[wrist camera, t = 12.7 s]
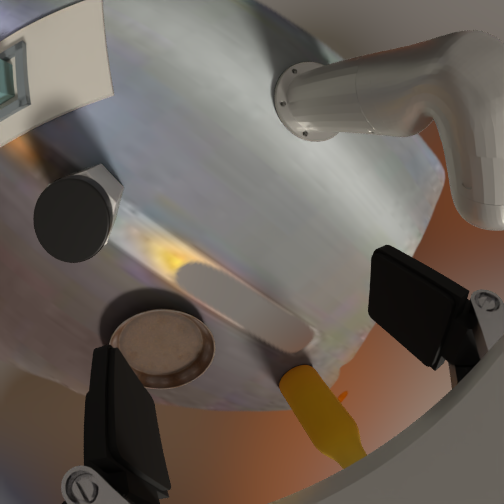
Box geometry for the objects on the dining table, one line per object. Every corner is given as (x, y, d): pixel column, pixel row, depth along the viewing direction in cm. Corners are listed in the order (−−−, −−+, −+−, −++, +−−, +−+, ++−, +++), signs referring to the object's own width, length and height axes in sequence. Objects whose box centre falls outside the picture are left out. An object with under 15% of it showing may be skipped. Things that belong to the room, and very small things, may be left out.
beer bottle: (310, 384, 63) (376, 472, 38) (276, 395, 60) (337, 494, 35) (316, 358, 59) (393, 453, 34) (279, 370, 56) (351, 478, 31)
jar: (73, 156, 29) (41, 165, 18) (130, 171, 32) (120, 184, 22) (59, 222, 31) (28, 257, 21) (113, 235, 35) (100, 275, 24)
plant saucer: (230, 345, 49) (235, 355, 46) (156, 390, 48) (158, 402, 45) (169, 277, 40) (170, 288, 37) (88, 337, 39) (86, 349, 36)
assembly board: (102, -1, 21) (100, -10, 18) (114, 95, 28) (111, 91, 25) (-27, 65, 15) (-37, 62, 13) (-19, 159, 23) (-29, 161, 20)
